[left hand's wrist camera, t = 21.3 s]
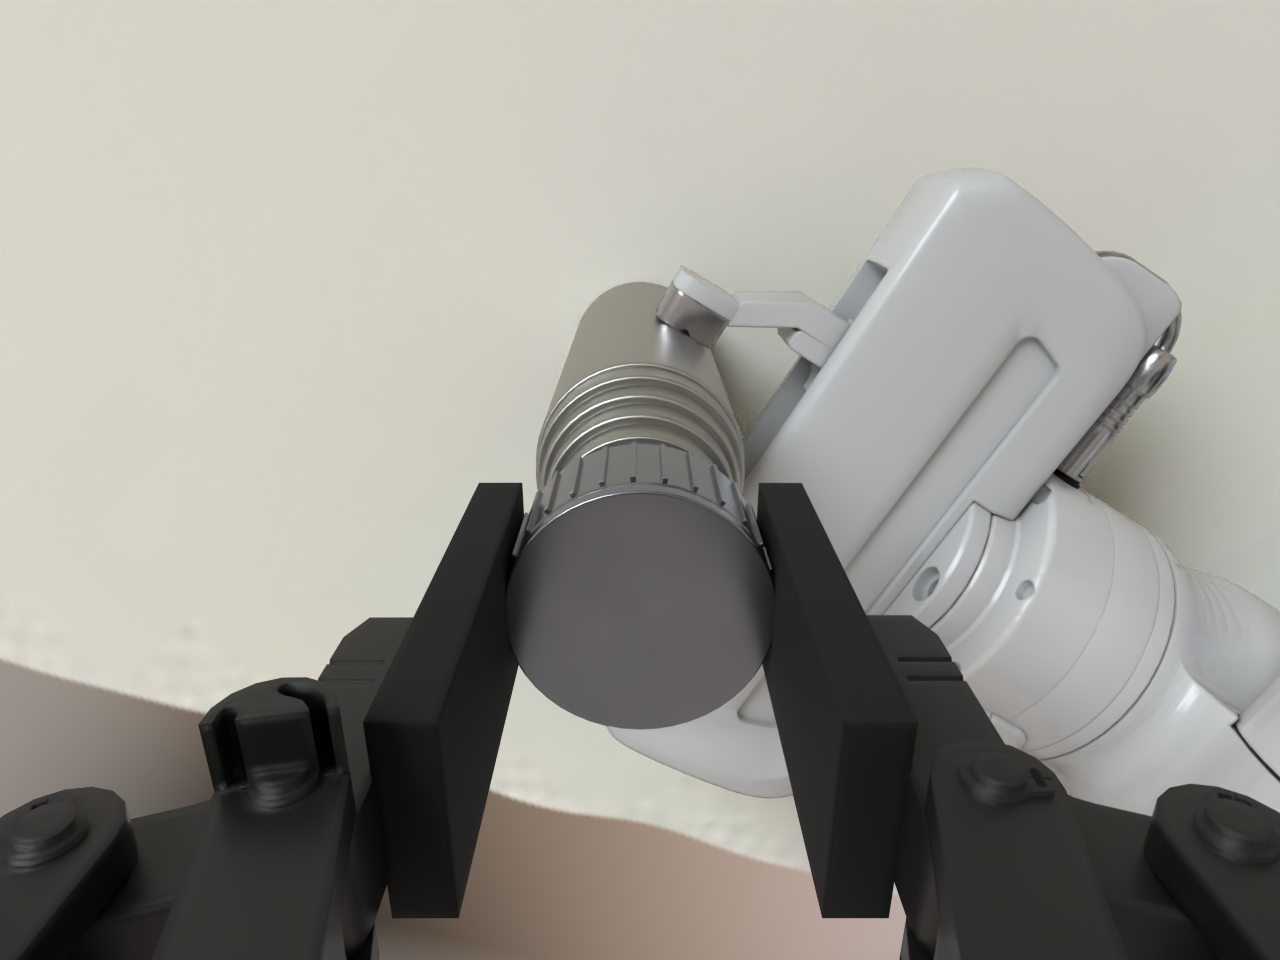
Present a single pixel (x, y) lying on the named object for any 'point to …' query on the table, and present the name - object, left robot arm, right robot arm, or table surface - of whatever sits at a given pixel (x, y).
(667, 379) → the bottle
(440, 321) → the table surface
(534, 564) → the cap
